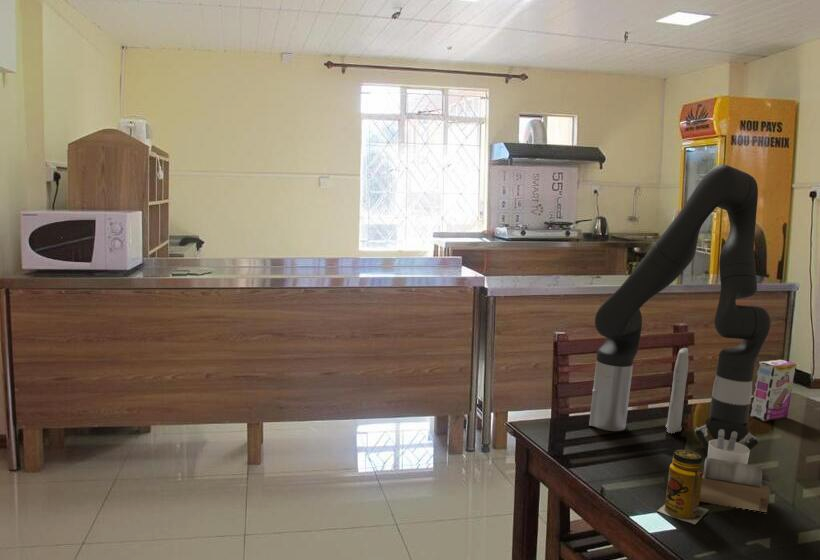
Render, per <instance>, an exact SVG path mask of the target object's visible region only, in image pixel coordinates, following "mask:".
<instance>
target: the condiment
mask: <svg viewBox="0 0 820 560" xmlns="http://www.w3.org/2000/svg"><path fill="white" fill-rule="evenodd" d="M671 460H672V462H671V463H670V465H669V469H668V477H667V484H666V485H667V486H666V493H665V494H666V495H665V499H664V500H665V501H664V504H663V505H662V506H661V507H659V508H658V509H657V510H656V512H659V513H661V514H664V515H666V516H669V517H671V518H674V519H678V520H680V521H683V522H687V523H690V524H692V525H696V524H697V523H698V522H699V521H700V520H701V519H702V518H703V517H704V516H705V515H706V514H707V512H708V511H709V509H708V508H704V507H699V506H700V501H699V499H700V492H701V484H702V477H703V475H704V470H703V469H702V467H703V466H702V465H703V461H704V459H703V456H702V455H701V454H700V453H697V452H695V451H692V450H688V449H687V450H686V449H677V450H675V451H674V452H673V454H672V459H671Z"/></svg>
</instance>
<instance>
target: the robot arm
mask: <svg viewBox="0 0 820 560" xmlns="http://www.w3.org/2000/svg"><path fill="white" fill-rule="evenodd" d="M758 196H759V187H758V183H757V181H756V179H755V178H754V177H753V176H752V175H751V174H749V173H747V172H745V171H743V170H741V169H738V168H735V167H734V166H730V165H728V164H722V163H721V164H718V165H716V166H714V167H712V168H711V169H709V170H708V171H707V172H706V173H705V175H704V176H703V177H702V178H701V180H699V182H698V184H697V186H696V187H695V188H694V190H693V192H692V193H691V195H690V196H689V197H688V200H686V202H685V204H684V205H683V206H682V208H681V210H680V211H679V212H678V214H677V215H676V217H674V219H673V220H672V221H671V223H670V224H669V226H668V227H667V228H666V229H665V231H664V232H663V233H662V234H661V236H660V237H659V238H658V239H657V240H656V241H655V242H654V244H653V245H652V246H651V248H649V250H647V252H646V254H645V255H644V257H643V258H642V259H641V261H640V262H639V263H638V264H637V266H636V267H635V268H634V269H633V271H632V272H631V273H630V274H629V276H628V277H627V278H626V280H624V282H623V283H622V284H621V286H620V287H619V288H618V289H617V290H615V292H614V293H613V294H612V295H611V296H610V297H609V298H608V299H606V301H605V302H604V303H602V304H601V306H600V307H599V308H598V310H597V311H596V314H595V317H594V325H595V329H596V331H597V332H598V334H599V335H601V336H603V337H604V338H605V341H604V343H603V344H602V345H601V346H600V347H599V348H598V349H597V353H596V357H595V358H596V361H595V367H594V368H595V369H594V379H593V387H592V395H591V396H592V398H591V405H590V413H589V421H588V422H589V423H588V426H590V427H595V428H597V429H599V430H603V431H611V432H621V431H624V430H625V429H626V426H627V418H628V410H629V409H628V408H629V400H630V392H631V384H632V375H633V368H634V367H633V366H634V360H635V357H636V356H637V354H638V351H639V346H640V339H641V333H642V329H643V328H642V326H643V317H642V312H641V308H642V307H643V305H644V304H646V303H647V302H648V301H649V300H650V299H651V298H654V296H656V295H657V294H659V293H661V292H662V291H663V290H665V289H666V288H667V287H669V286H670V285H671V284H672V283H674V281H675V280H677V278H679V276H680V275H681V274H682V273H683V272H684V271H685V270H686V268H687V267H688V266H689V265H690V264H691V263H692V261H693V259H694V258H695V255H696V250H697V246H698V241H699V235H700V232H701V228H702V227H703V224H704V223H705V221H706V220H707V218H709V217H710V215H711V214H712V213H713V212H714V211H715V210H716V209H717V208H719V209H722V210H725V211H726V212H727V216H728V221H729V232H728V235H727V238H726V241H725V243H724V245H723V246H722V250H721V252H720V256H719V262H718V263H719V265H718V266H719V281H720V292H719V298H718V304H717V308H716V312H715V315H714V328H715V330H716V332H717V333H718V335H720V337H722V338H725V339H726V338H727V339H736V340H737V339H739V340H742V341H741V342H740V344H738V345H736V346H733V347H726V348H724V349H721V350H720V352H719V354H718V361H717V368H716V374H715V378H714V381H713V387H712V389H711V393H712V395H711V401H710V409H709V415H708V418H707V420H706V421H705V424H704V425H702V426H700V427H699V426H696V427H694V431H695V435H696V436H697V438H698V439H699V442H701V444H702V446H703V447H704V449H705V450H706V452H707V453H708V444H709V441H710V440H708V439H707V436H708V433H710V436H711V437H712V440H713V439H718V445H717V447H718V448H719V449H723V447H724V440H729V442H728V447H727V450H731V451H733V450H734V446H735V442H738V443H740V442H741V441H742V440H743V442H742V443H741V444H743V445H745V446H746V447H748V448H749V449H750V451H751V450H752V449H753V448H754V447H755V446H757V445H758V443H759V442H758V439H757V437H756V436H755V435H753V434H752V433H751V432H750V429H749V426H748V423H749V422H748V421H749V416H750V410H751V409H750V408H751V404H752V403H751V401H752V397H753V396H752V394H753V379H754V374H755V373H754V372H755V364H756V361H757V358H758V356H759V354H760V352H761V350H762V347H763V346H764V343H765V341H766V340H767V337H768V335H769V332H770V330H771V321H772V320H771V317H770V315H769V313H768V311H767V310H766V309H765V308H763V307H759V306H747V305H737V304H736V300H741V299H746V298H750V297H753V296H755V294H756V293H757V291H758V281H757V272H756V271H757V270H756V262H755V261H756V260H755V236H756V235H755V234H756V223H757V210H758V201H759V200H758V198H759V197H758ZM707 431H708V432H707ZM720 439H721V440H720ZM720 443H721V444H720ZM731 445H732V446H731Z"/></svg>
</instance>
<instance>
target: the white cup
mask: <svg viewBox="0 0 820 560" xmlns="http://www.w3.org/2000/svg"><path fill="white" fill-rule="evenodd" d="M720 440H721V439H720ZM708 441H709V444H708V452H707V456H706V458H713V459H719V460H725V461H731V462H737V463H743V464H748V462H749V457H750V452H751V450H750V449H749V448H748V447H746V446H745V445H743V444H742V443H740V442H735V446H734V450H733V451H731V450H727V447H728V442H729V440H724V447H723V449H719V448H718V447H717V445H718V439H713V438H712V439H711V440H708ZM720 444H721V443H720ZM731 446H732V445H731Z"/></svg>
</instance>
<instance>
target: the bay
mask: <svg viewBox="0 0 820 560" xmlns="http://www.w3.org/2000/svg"><path fill="white" fill-rule="evenodd" d="M763 481H765V482H769V483H773V482H774V481H775V476H774V475H771V474H770V475H769V474H764V473H763V467H762V466H760V465H756V464H755V465H754V464H748V463H747V464H743V463H737V462H731V461H725V460H719V459H713V458H707V457H705V459H704V464H703V477H702V484H701V492H700V499H699V502H702V503H708V504H712V505H717V504H718V506H723V505H724V506H723V507H728V506H730V508H734V507H736V508H735V509H739V508H742V509H741V510H745V509H749V510H748V511H750V510H757V511H761V512H767V513H768V506H769V499H770V493H771V489H770V486H769V485H768V486H767V485H762V482H763ZM761 512H760V513H761Z"/></svg>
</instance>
